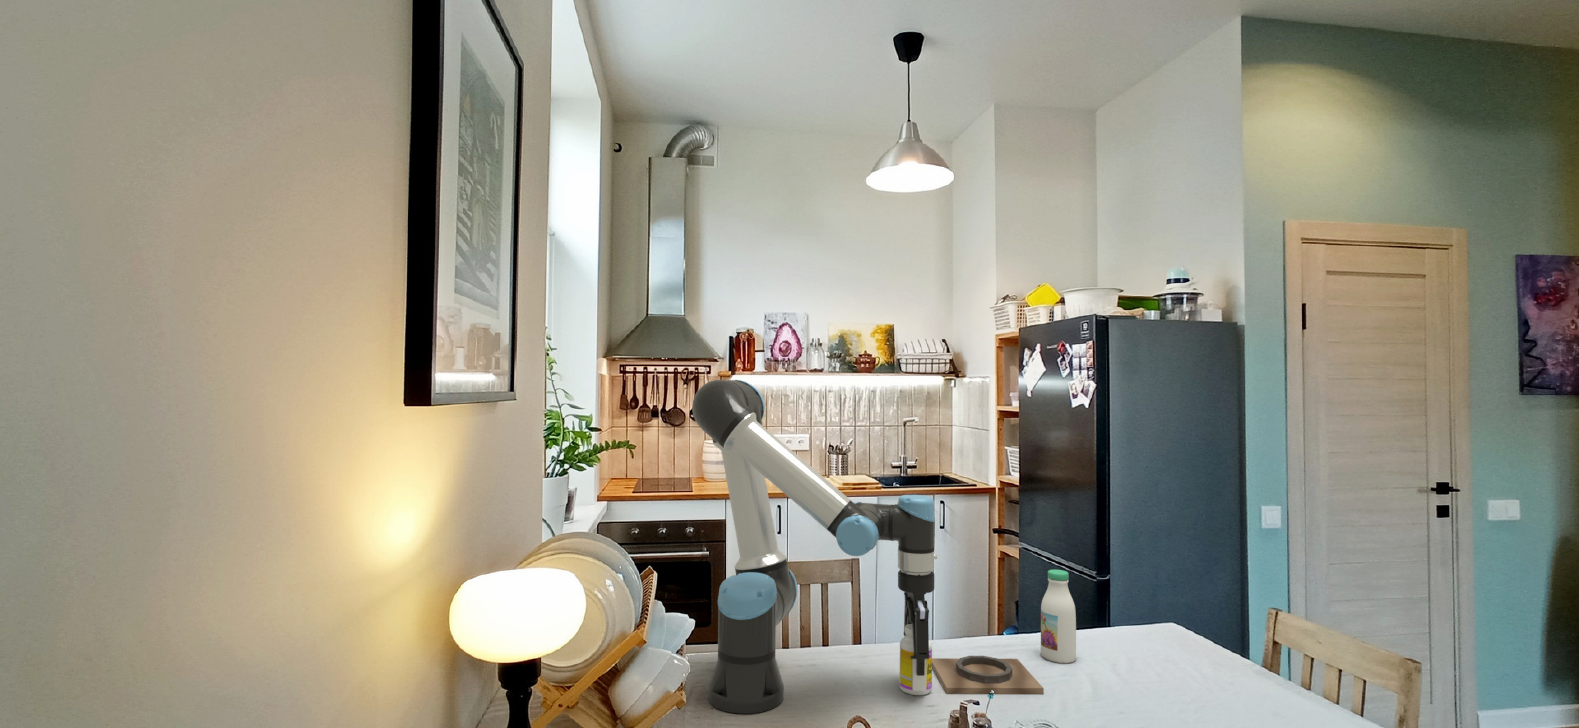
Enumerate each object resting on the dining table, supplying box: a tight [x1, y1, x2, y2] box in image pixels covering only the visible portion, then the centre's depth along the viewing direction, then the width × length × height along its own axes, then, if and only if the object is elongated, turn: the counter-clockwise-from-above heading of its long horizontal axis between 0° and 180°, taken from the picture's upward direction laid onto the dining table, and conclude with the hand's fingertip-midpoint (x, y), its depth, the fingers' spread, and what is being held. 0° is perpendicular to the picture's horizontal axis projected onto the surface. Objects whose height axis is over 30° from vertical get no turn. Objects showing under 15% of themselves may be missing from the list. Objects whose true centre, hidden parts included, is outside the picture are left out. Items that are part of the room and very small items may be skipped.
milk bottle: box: [1040, 569, 1077, 664], centre depth 168 cm, size 8×8×20 cm
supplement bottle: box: [899, 624, 933, 696], centre depth 149 cm, size 7×7×13 cm
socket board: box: [932, 655, 1045, 695], centre depth 155 cm, size 20×16×3 cm
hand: (915, 682), depth 149 cm, fingers open, 7 cm apart
